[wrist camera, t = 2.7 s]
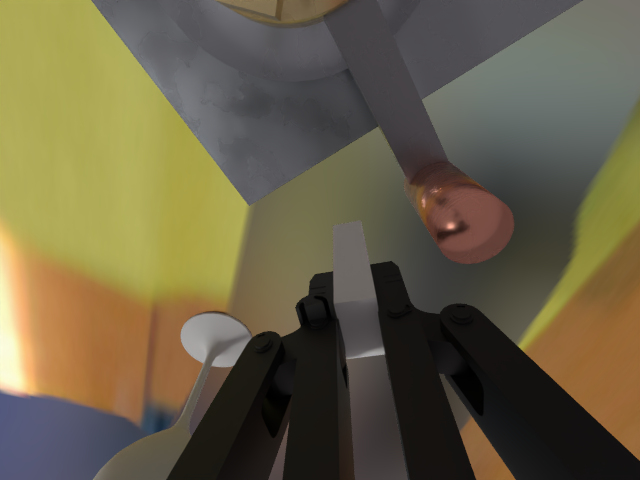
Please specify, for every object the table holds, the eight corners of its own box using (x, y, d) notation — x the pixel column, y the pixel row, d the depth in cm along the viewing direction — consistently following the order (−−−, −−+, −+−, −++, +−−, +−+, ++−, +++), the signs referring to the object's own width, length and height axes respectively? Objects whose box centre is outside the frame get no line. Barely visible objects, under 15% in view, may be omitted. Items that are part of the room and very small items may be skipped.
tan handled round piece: (102, -175, 14) (-106, -400, 7) (323, -438, 11) (316, -1224, 4) (363, 239, 23) (377, 308, 16) (524, 156, 20) (621, 199, 13)
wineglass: (262, 321, 31) (164, 691, 13) (247, 373, 35) (153, 725, 16) (183, 301, 30) (-47, 668, 12) (176, 357, 34) (-11, 709, 15)
